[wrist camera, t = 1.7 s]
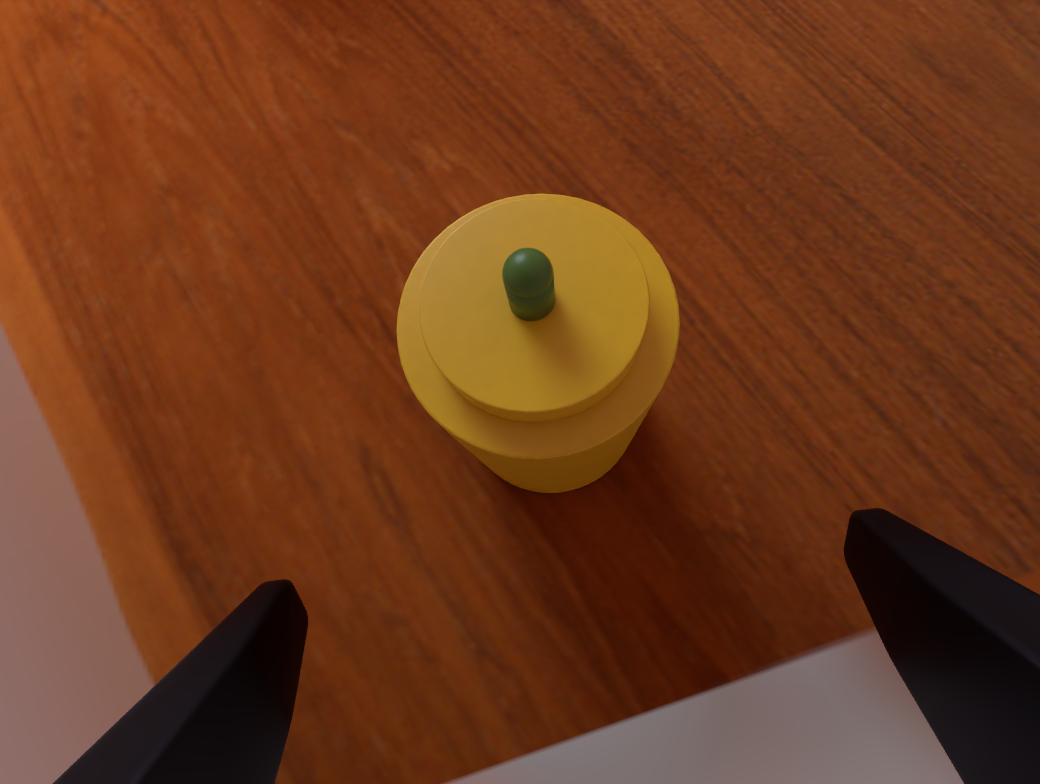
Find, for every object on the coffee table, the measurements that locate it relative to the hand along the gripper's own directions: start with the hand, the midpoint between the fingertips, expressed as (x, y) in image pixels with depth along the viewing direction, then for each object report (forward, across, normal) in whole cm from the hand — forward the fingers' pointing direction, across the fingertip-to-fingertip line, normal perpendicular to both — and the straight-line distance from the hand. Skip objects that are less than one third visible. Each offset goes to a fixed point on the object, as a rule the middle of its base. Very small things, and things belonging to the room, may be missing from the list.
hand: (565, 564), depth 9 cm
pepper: (+12, 0, +4) cm, 13 cm away
